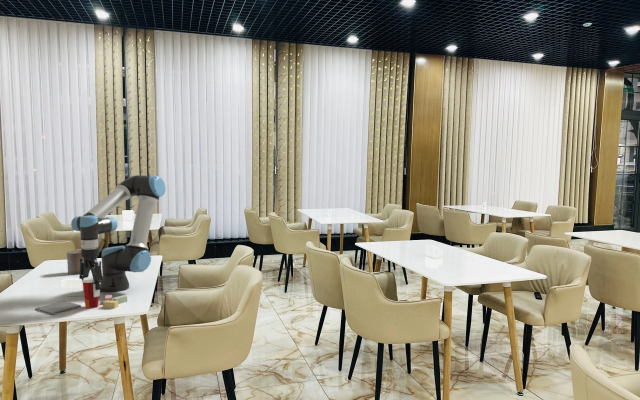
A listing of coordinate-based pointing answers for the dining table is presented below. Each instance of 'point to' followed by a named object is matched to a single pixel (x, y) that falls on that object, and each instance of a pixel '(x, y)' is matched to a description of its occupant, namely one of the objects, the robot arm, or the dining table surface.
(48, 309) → the slate mat
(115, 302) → the ochre brick
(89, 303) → the paper cup
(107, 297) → the rose brick
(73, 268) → the pillar candle
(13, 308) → the dining table surface
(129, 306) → the dining table surface
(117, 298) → the sage brick
